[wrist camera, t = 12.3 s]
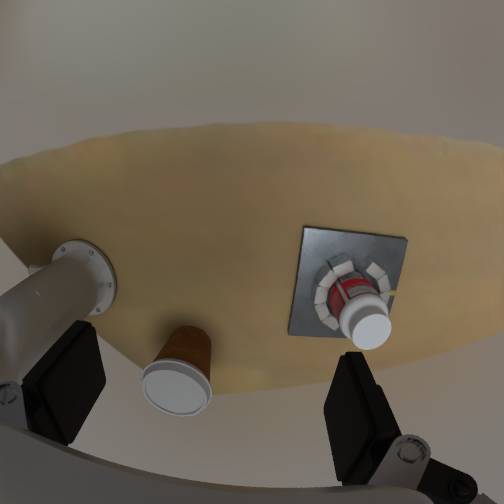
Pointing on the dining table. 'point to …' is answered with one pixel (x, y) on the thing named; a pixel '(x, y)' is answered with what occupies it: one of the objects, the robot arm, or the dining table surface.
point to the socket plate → (332, 248)
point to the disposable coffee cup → (180, 374)
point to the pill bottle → (359, 310)
